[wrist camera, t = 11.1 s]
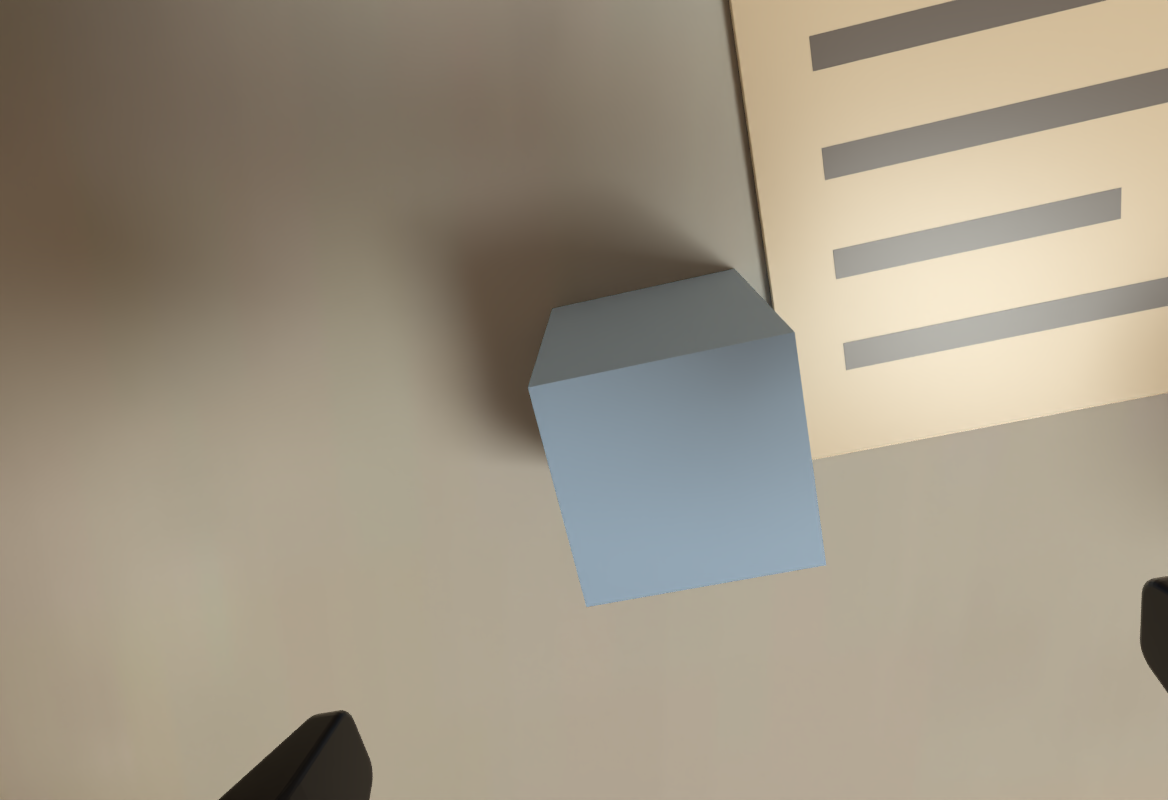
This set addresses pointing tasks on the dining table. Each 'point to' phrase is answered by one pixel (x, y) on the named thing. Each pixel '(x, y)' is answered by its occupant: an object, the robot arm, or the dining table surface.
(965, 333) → the letter card
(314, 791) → the robot arm
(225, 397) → the dining table surface
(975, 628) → the dining table surface
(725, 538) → the blue block
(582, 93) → the dining table surface
